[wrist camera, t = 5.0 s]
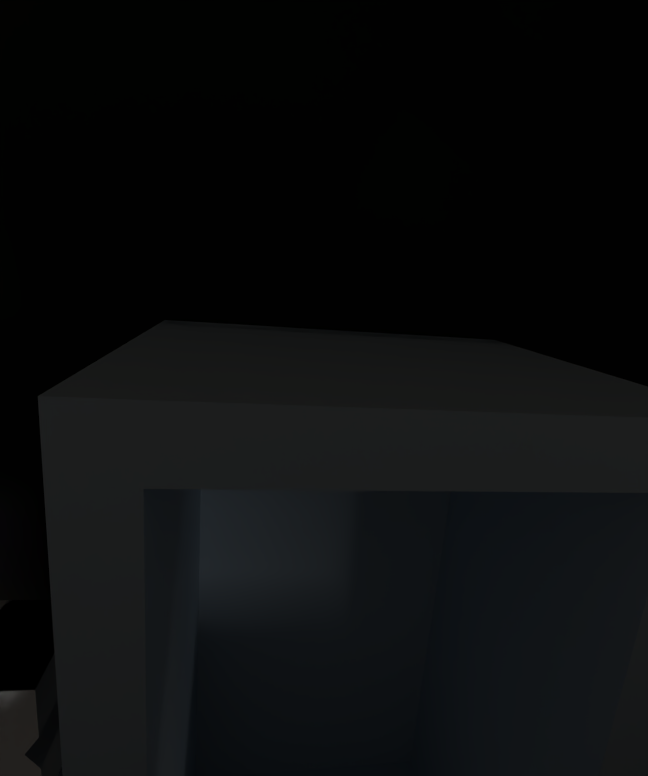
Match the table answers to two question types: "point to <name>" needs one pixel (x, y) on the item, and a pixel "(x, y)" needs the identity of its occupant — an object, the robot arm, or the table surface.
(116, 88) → the table surface
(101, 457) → the small crate
